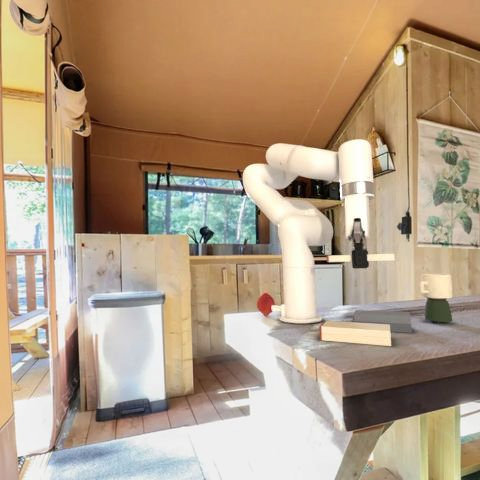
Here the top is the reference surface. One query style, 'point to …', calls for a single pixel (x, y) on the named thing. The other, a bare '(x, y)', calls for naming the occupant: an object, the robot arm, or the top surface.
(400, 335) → the top surface
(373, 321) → the grey rectangular block
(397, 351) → the top surface
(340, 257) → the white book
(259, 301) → the onion
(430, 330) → the top surface
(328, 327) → the cream rectangular block
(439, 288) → the character mug
